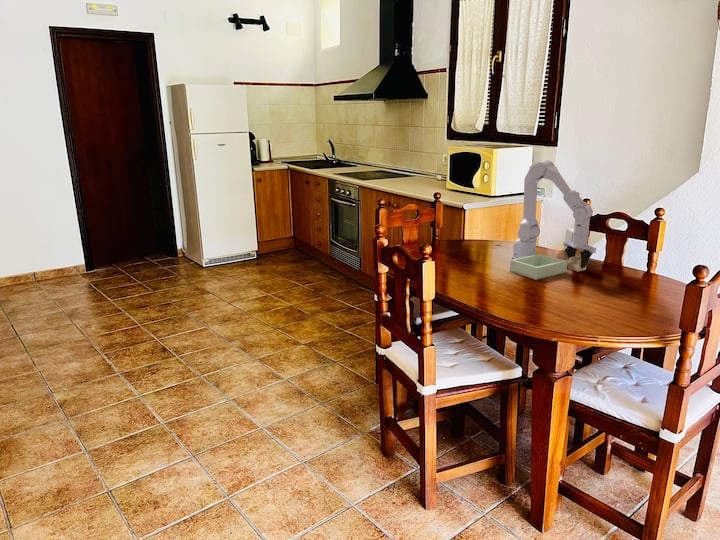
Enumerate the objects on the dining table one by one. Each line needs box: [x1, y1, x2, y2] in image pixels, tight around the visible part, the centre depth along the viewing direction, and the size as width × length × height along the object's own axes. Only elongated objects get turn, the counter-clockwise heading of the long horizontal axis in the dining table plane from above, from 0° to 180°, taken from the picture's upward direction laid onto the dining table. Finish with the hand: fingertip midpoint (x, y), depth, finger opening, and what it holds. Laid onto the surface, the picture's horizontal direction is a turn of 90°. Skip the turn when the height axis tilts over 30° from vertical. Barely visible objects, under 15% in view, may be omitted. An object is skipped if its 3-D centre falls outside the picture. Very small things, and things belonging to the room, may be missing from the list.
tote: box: [509, 253, 568, 281], centre depth 224 cm, size 14×18×5 cm
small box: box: [563, 228, 590, 257], centre depth 244 cm, size 8×6×13 cm
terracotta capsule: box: [555, 247, 569, 265], centre depth 234 cm, size 5×5×7 cm
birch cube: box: [567, 256, 587, 272], centre depth 228 cm, size 5×5×5 cm
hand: (577, 265), depth 228 cm, fingers open, 5 cm apart
